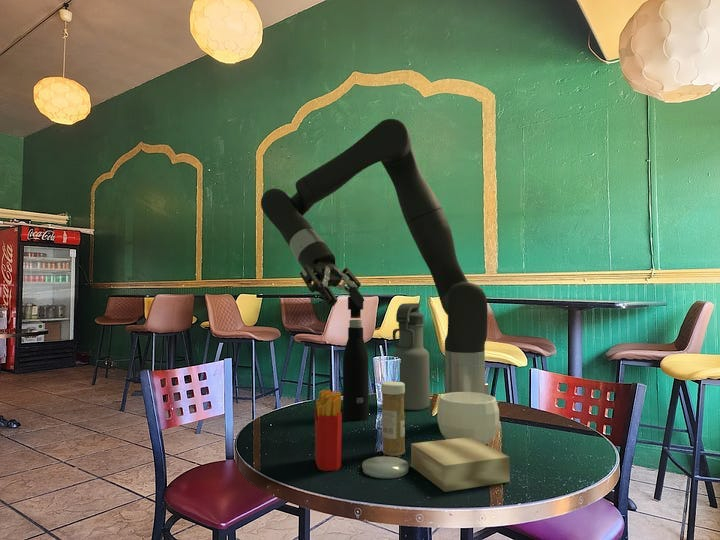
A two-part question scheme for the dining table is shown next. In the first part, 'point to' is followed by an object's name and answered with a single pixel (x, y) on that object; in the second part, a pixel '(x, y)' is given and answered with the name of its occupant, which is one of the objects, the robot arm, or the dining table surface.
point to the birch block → (460, 463)
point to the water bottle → (412, 357)
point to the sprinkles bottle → (393, 418)
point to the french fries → (328, 430)
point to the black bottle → (355, 369)
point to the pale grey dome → (385, 467)
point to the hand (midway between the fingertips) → (348, 303)
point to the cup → (468, 416)
